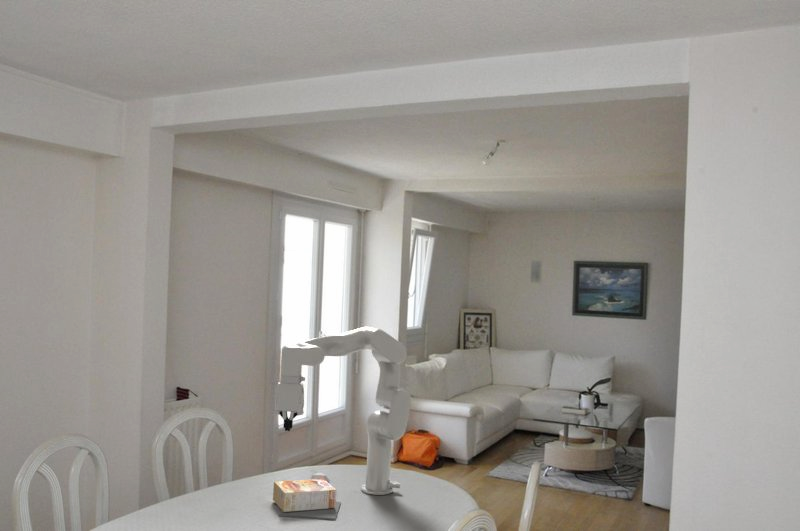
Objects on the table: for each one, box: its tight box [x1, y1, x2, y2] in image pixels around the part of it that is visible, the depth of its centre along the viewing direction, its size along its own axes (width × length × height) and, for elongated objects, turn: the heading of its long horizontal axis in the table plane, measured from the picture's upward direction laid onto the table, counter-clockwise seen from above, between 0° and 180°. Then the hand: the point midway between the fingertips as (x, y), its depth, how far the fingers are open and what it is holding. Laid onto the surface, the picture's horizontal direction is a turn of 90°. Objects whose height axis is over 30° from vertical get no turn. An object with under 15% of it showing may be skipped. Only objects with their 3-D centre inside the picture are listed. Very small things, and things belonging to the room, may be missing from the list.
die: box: [308, 472, 331, 485], centre depth 274 cm, size 8×9×10 cm
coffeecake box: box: [272, 479, 337, 512], centre depth 259 cm, size 15×7×20 cm
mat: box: [278, 501, 342, 521], centre depth 255 cm, size 20×18×1 cm
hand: (287, 430), depth 256 cm, fingers closed
